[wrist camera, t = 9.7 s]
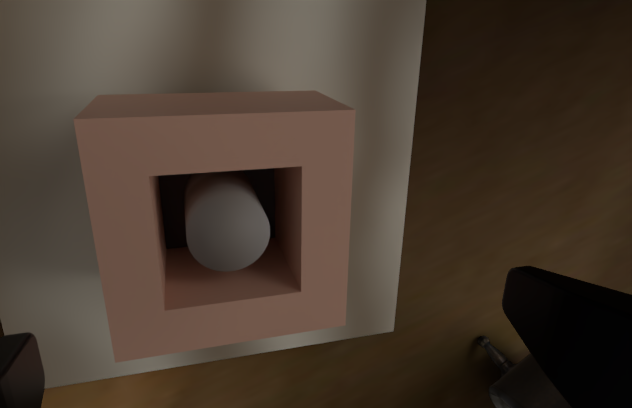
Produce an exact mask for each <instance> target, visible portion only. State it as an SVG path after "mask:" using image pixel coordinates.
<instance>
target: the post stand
mask: <svg viewBox="0 0 632 408" xmlns="http://www.w3.org/2000/svg"><path fill="white" fill-rule="evenodd" d="M425 9H426V0H0V320H1V323H2V327H3V331H4V335H10V334H18V333H26V332H31V333H33V334H34V335H35V337H36V339H37V343H38V347H39V352H40V356H41V360H42V364H43V369H44V373H45V387H44V389H46V388H52V387H58V386H64V385H70V384H76V383H82V382H88V381H95V380H101V379H107V378H113V377H119V376H125V375H131V374H137V373H143V372H149V371H155V370H161V369H167V368H173V367H180V366H186V365H192V364H198V363H204V362H210V361H216V360H222V359H228V358H234V357H240V356H246V355H252V354H258V353H264V352H271V351H277V350H283V349H289V348H295V347H301V346H307V345H313V344H319V343H325V342H331V341H337V340H343V339H349V338H355V337H362V336H368V335H374V334H380V333H386V332H392V331H394V321H395V311H396V301H397V291H398V281H399V271H400V261H401V251H402V241H403V231H404V221H405V211H406V200H407V190H408V180H409V170H410V160H411V150H412V140H413V130H414V120H415V110H416V100H417V90H418V80H419V70H420V59H421V49H422V39H423V29H424V19H425ZM311 90H316V91H318V92H320V93H322V94H324V95H326V96H328V97H330V98H332V99H334V100H336V101H338V102H340V103H343V104H345V105H347V106H349V107H351V108H353V109H355V110H356V113H355V134H354V156H353V177H352V198H351V219H350V241H349V262H348V283H347V304H346V325H345V326H339V327H332V328H326V329H320V330H314V331H308V332H302V333H296V334H289V335H283V336H277V337H271V338H265V339H259V340H252V341H246V342H240V343H234V344H228V345H222V346H216V347H209V348H203V349H197V350H191V351H185V352H179V353H172V354H166V355H160V356H154V357H148V358H142V359H135V360H129V361H123V362H117V363H115V359H114V353H113V348H112V342H111V336H110V330H109V324H108V318H107V313H106V307H105V301H104V295H103V289H102V284H101V278H100V272H99V266H98V260H97V254H96V249H95V243H94V237H93V231H92V225H91V220H90V214H89V208H88V202H87V196H86V190H85V185H84V179H83V173H82V167H81V161H80V156H79V150H78V144H77V138H76V132H75V126H74V121H73V119H74V118H75V117H76V116H77V115H78V114H79V113H80V112H81V111H82V110H83V109H84V108H85V107H86V106H87V105H88V104H89V103H90V102H91V101H92V100H93V99H94V98H95V97H96V96H97V95H121V94H169V93H216V92H263V91H311ZM158 179H159V188H160V197H161V206H162V215H163V224H164V233H165V242H166V249H172V248H182V247H188V248H189V250H190V252H191V254H192V255H193V257H194V258H195V259H196V260H197V261H198V262H199V263H200V264H202V265H203V266H205V267H207V268H209V269H212V270H215V271H223V272H229V271H236V270H240V269H243V268H245V267H247V266H249V265H251V264H252V263H254V262H255V261H256V260H257V259H258V258H259V257H260V256H261V255H262V254H263V252H264V251H265V249H266V247H267V245H268V242H269V238H275V183H274V168H268V169H253V170H237V171H222V172H207V173H191V174H176V175H161V176H158Z"/></svg>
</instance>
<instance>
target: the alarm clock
mask: <svg viewBox="0 0 632 408" xmlns="http://www.w3.org/2000/svg"><path fill="white" fill-rule="evenodd" d="M478 344H479V345H480V346H481V347H484V348H485V349H486V351H487V353H488V355H489V356H490V358H491V359H492V360H493V362H494V363H495V364H496V365H497V366H498V367H499V368H500V369H501V371H502V373H501V378H500V379H499V380H498V381H497V382H495V383H494V384H493V385H491V386H490V387H489V396H490V398H491V401H492V402H493V404H494V405H495V407H496V408H571V407H570V405H569V404H568V403H567V401H566V400H565V399H564V398H563V396H562V395H561V394H560V393H559V391H558V390H557V389H556V388H555V386H554V385H553V384H552V383H551V381H550V380H549V379H548V377H547V376H546V375H545V373H544V372H543V371H542V369H541V368H540V366H539V365H538V363H537V362H536V360H535V359H534V357H533V356H532V354H531V353H530V354H529V355H528V356H527V357H525V358H524V359H523V360H522V361H521V362H519V363H518V364H513V363H511V362H510V361H509V360H508V359H507V358H506V357H505V356H504V355H503V354H502V353H501V352H500V351H499V350H497V349H496V348H495V347H494V346H492V345H491V344H490V342H489V339H488V338H487V337H486V336H481V337H480V338H479V339H478Z"/></svg>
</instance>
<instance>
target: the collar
mask: <svg viewBox="0 0 632 408" xmlns="http://www.w3.org/2000/svg"><path fill="white" fill-rule="evenodd" d="M355 113H356V110H355V109H353V108H351V107H349V106H347V105H345V104H343V103H340V102H338V101H336V100H334V99H332V98H330V97H328V96H326V95H324V94H322V93H320V92H318V91H316V90H311V91H263V92H216V93H169V94H121V95H97V96H96V97H95V98H94V99H93V100H92V101H91V102H90V103H89V104H88V105H87V106H86V107H85V108H84V109H83V110H82V111H81V112H80V113H79V114H78V115H77V116H76V117H75V118H74V119H73V121H74V126H75V132H76V138H77V144H78V150H79V156H80V161H81V167H82V173H83V179H84V185H85V190H86V196H87V202H88V208H89V214H90V220H91V225H92V231H93V237H94V243H95V249H96V254H97V260H98V266H99V272H100V278H101V284H102V289H103V295H104V301H105V307H106V313H107V318H108V324H109V330H110V336H111V342H112V348H113V353H114V359H115V363H117V362H123V361H129V360H135V359H142V358H148V357H154V356H160V355H166V354H172V353H179V352H185V351H191V350H197V349H203V348H209V347H216V346H222V345H228V344H234V343H240V342H246V341H252V340H259V339H265V338H271V337H277V336H283V335H289V334H296V333H302V332H308V331H314V330H320V329H326V328H332V327H339V326H345V325H346V304H347V283H348V262H349V241H350V219H351V198H352V177H353V156H354V134H355ZM268 168H274V183H275V238H269V242H268V245H267V247H266V249H265V251H264V252H263V254H262V255H261V256H260V257H259V258H258V259H257V260H256V261H255V262H254V263H252V264H251V265H249V266H247V267H245V268H243V269H240V270H236V271H229V272H223V271H215V270H212V269H209V268H207V267H205V266H203V265H202V264H200V263H199V262H198V261H197V260H196V259H195V258H194V257H193V255H192V254H191V252H190V250H189V248H188V247H182V248H172V249H166V242H165V233H164V224H163V215H162V206H161V197H160V188H159V179H158V176H161V175H176V174H191V173H207V172H222V171H237V170H253V169H268Z"/></svg>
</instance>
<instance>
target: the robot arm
mask: <svg viewBox="0 0 632 408" xmlns="http://www.w3.org/2000/svg"><path fill="white" fill-rule="evenodd" d="M502 307H503V310H504V313H505V315H506V316H507V318H508V319H509V321H510V322H511V324H512V325H513V327H514V328H515V330H516V331H517V333H518V334H519V336H520V337H521V339H522V340H523V342H524V344H525V345H526V347H527V348H528V350H529V351H530V353H531V354H532V356H533V357H534V359H535V360H536V362H537V363H538V365H539V366H540V368H541V369H542V371H543V372H544V373H545V375H546V376H547V377H548V379H549V380H550V381H551V383H552V384H553V385H554V386H555V388H556V389H557V390H558V391H559V393H560V394H561V395H562V396H563V398H564V399H565V400H566V401H567V403H568V404H569V405H570V407H571V408H632V295H630V294H627V293H623V292H620V291H616V290H613V289H609V288H606V287H602V286H599V285H595V284H592V283H588V282H585V281H581V280H578V279H574V278H571V277H567V276H564V275H560V274H557V273H553V272H550V271H546V270H543V269H539V268H536V267H532V266H522V267H515V268H512V269H511V270H510V271H509V272H508V274H507V278H506V284H505V289H504V294H503V299H502ZM44 387H45V373H44V369H43V364H42V360H41V356H40V352H39V347H38V343H37V339H36V337H35V335H34V334H33V333H31V332H26V333H18V334H10V335H5V336H3V337H1V338H0V408H41V404H42V398H43V393H44Z"/></svg>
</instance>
